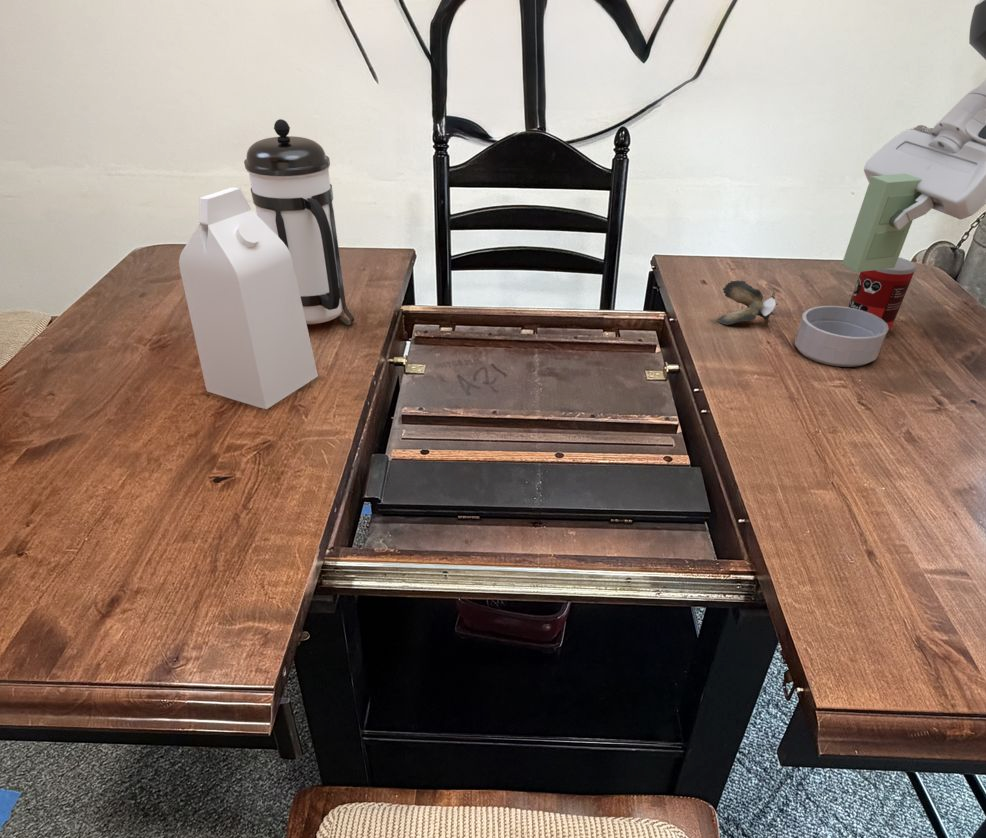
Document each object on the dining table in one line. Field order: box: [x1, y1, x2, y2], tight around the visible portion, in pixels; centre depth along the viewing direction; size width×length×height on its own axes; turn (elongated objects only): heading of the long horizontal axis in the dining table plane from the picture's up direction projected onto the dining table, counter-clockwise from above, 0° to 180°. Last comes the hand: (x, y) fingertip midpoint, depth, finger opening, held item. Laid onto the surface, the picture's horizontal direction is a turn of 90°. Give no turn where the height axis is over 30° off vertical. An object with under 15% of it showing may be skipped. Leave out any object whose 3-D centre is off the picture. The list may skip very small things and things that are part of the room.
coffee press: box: [243, 118, 355, 327], centre depth 115 cm, size 17×16×30 cm
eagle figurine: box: [716, 279, 779, 325], centre depth 125 cm, size 8×7×9 cm
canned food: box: [847, 256, 917, 334], centre depth 122 cm, size 8×8×11 cm
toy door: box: [841, 174, 922, 273], centre depth 104 cm, size 4×7×12 cm, turn 108°
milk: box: [178, 186, 319, 410], centre depth 99 cm, size 12×12×26 cm
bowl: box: [794, 305, 890, 368], centre depth 117 cm, size 13×13×5 cm
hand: (881, 220), depth 104 cm, fingers closed on toy door, 4 cm apart
